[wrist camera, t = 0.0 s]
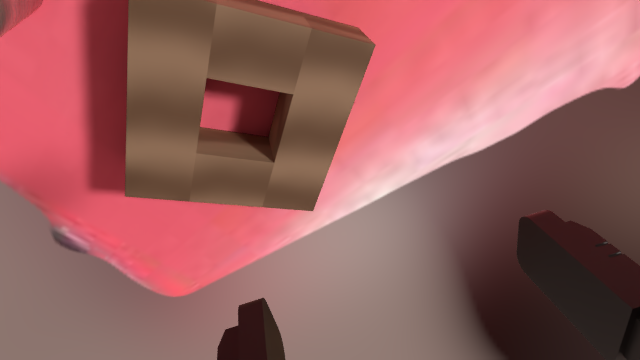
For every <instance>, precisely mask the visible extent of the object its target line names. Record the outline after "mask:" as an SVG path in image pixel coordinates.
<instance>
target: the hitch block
mask: <svg viewBox="0 0 640 360" xmlns="http://www.w3.org/2000/svg"><path fill="white" fill-rule="evenodd" d="M374 48H375V44H374V43H373V42H372V41H371V40H370V39H369V38H368V37H367V36H366V35H365V34H364V33H363V32H362V31H361V30H360V29H359V28H357V27H354V26H350V25H346V24H343V23H339V22H335V21H332V20H328V19H324V18H321V17H317V16H313V15H309V14H306V13H302V12H298V11H295V10H291V9H287V8H284V7H280V6H276V5H273V4H269V3H265V2H262V1H258V0H129V8H128V62H127V117H126V171H125V196H127V197H140V198H152V199H165V200H178V201H191V202H204V203H216V204H229V205H242V206H255V207H267V208H280V209H293V210H306V211H313V210H314V207H315V204H316V202H317V199H318V196H319V194H320V191H321V188H322V186H323V183H324V181H325V178H326V175H327V173H328V170H329V167H330V165H331V162H332V159H333V157H334V154H335V151H336V149H337V146H338V143H339V141H340V138H341V135H342V133H343V130H344V127H345V125H346V122H347V119H348V117H349V114H350V111H351V109H352V106H353V103H354V101H355V98H356V95H357V93H358V90H359V88H360V85H361V82H362V80H363V77H364V74H365V72H366V69H367V66H368V64H369V61H370V58H371V56H372V53H373V50H374ZM206 78H209V79H214V80H220V81H225V82H230V83H235V84H241V85H246V86H251V87H256V88H262V89H267V90H272V91H277V92H280V94H279V98H278V102H277V106H276V110H275V114H274V117H273V121H272V125H271V129H270V133H269V137H265V136H258V135H251V134H244V133H237V132H230V131H223V130H216V129H210V128H203V127H200V122H201V114H202V107H203V100H204V93H205V86H206Z"/></svg>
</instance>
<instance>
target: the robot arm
mask: <svg viewBox="0 0 640 360" xmlns="http://www.w3.org/2000/svg"><path fill="white" fill-rule="evenodd" d="M517 258H518V262H519V264H520V266H521V268H522V269H523V271H524V272H525V273H526V274H527V276H529V278H530V279H531V280H532V281H533V282H534V283H535V284H536V285H537V286H538V287H539V288H540V290H541V291H542V292H543V293H544V294H545V295H546V296H547V297H548V298H549V299H550V300H551V301H552V302H553V303H554V305H555V306H557V308H558V309H559V310H560V311H561V312H562V313H563V314H564V315H565V316H566V317H567V319H568V320H569V321H570V322H571V323H572V324H573V325H574V326H575V327H576V328H577V329H578V330H579V331H580V332H581V334H582V335H583V336H584V337H585V338H586V339H587V340H588V341H589V342H590V343H591V344H592V345H593V347H594V348H596V350H597V351H598V352H599V353H600V354H601V355H602V356H603V357H604V358H605V359H606V360H640V266H639V265H638V264H637V263H635V262H634V261H633V260H631V259H630V258H629V257H627V256H626V255H625V254H621V251H619V250H618V249H617V248H615V247H614V246H613V245H611V244H608V243H607V241H606V240H605V239H603V238H602V237H601V236H600V235H598V234H597V233H595V232H594V231H593V230H591V229H590V228H587V227H585V226H582V225H580V224H578V223H575V222H573V221H568V222H564V221H563V220H562V219H561V218H559V217H558V216H557V215H555V214H554V213H553V212H551V211H549V210H543V211H540V212H537V213H533V214H530V215H527V216H524V217H521V218H520V220H519V229H518V242H517ZM217 360H285V353H284V347H283V342H282V338H281V334H280V332H279V329H278V327H277V324H276V322H275V320H274V318H273V315H272V313H271V311H270V309H269V307H268V304H267V302H266V300H265V299H264V298H261V299H258V300H255V301H252V302H249V303H245V304H242V305H239V309H238V326H235V327H232V328H229V329H226V330H225V332H224V334H223V337H222V339H221V341H220V344H219V346H218V354H217Z"/></svg>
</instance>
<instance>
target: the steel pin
mask: <svg viewBox="0 0 640 360" xmlns="http://www.w3.org/2000/svg"><path fill="white" fill-rule="evenodd" d="M42 1H43V0H0V37H2V36H3V35H4V34H5V33H7V32H8V31H9V30H11V29H12V28H13V27H15V26H16V25H17V24H19V23H20V22H21V21H23V20H24V19H25V18H27V17H28V16H29V15H31V14H32V13H33V12H35V11H36V10H37V9H38V8H39V7H40V6H41V4H42Z"/></svg>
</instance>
